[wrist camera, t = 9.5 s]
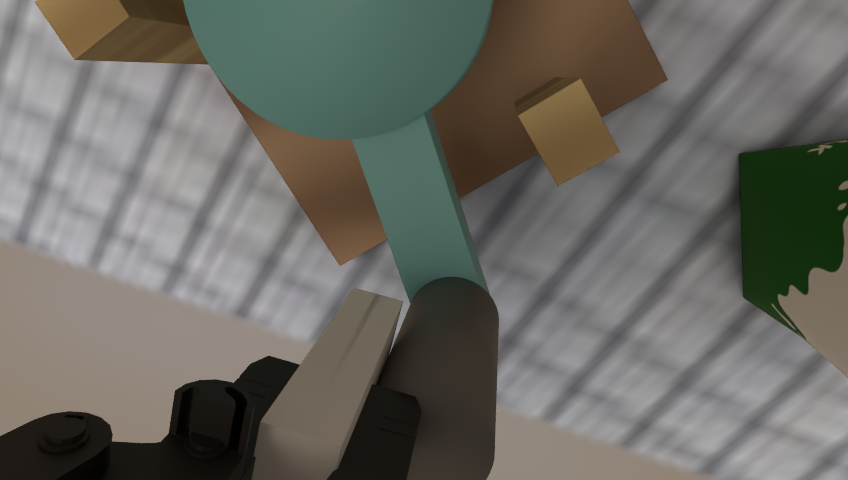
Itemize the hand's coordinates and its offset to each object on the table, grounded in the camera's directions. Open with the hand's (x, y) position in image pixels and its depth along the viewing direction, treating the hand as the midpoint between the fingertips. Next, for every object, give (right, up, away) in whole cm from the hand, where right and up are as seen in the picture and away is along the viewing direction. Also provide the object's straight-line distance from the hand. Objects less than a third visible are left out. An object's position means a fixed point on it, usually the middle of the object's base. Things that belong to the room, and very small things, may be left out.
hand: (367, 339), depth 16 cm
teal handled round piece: (+1, +7, +4) cm, 8 cm away
